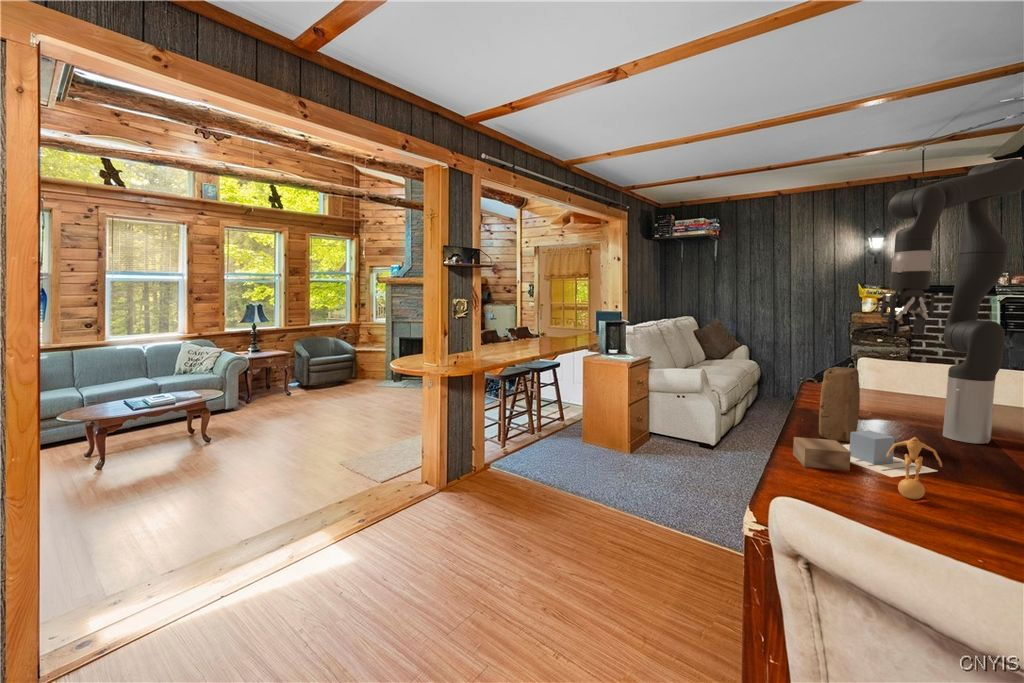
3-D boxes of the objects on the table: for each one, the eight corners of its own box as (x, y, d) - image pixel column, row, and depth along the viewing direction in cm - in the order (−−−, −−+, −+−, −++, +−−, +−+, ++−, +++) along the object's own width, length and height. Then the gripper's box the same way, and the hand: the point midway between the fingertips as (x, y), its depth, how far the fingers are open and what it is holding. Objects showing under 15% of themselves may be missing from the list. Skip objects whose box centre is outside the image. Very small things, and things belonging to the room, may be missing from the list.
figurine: (883, 496, 91) (887, 437, 90) (883, 486, 95) (888, 430, 94) (939, 508, 85) (945, 446, 84) (937, 497, 90) (943, 438, 89)
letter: (852, 444, 122) (853, 443, 122) (938, 472, 103) (938, 470, 103) (810, 449, 119) (811, 447, 119) (891, 478, 100) (891, 476, 100)
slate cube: (867, 453, 114) (869, 430, 114) (892, 461, 109) (894, 437, 108) (848, 455, 113) (850, 432, 112) (873, 463, 107) (875, 439, 107)
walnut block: (834, 459, 112) (835, 440, 111) (849, 473, 103) (850, 452, 103) (792, 456, 114) (793, 437, 114) (804, 469, 106) (805, 448, 105)
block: (846, 444, 122) (851, 371, 120) (814, 437, 128) (819, 368, 126) (860, 437, 129) (866, 367, 127) (830, 431, 135) (834, 364, 133)
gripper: (915, 271, 119) (910, 333, 121) (873, 270, 116) (869, 334, 117) (949, 269, 112) (943, 335, 113) (905, 268, 108) (900, 336, 110)
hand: (905, 334), depth 115 cm, fingers open, 8 cm apart
